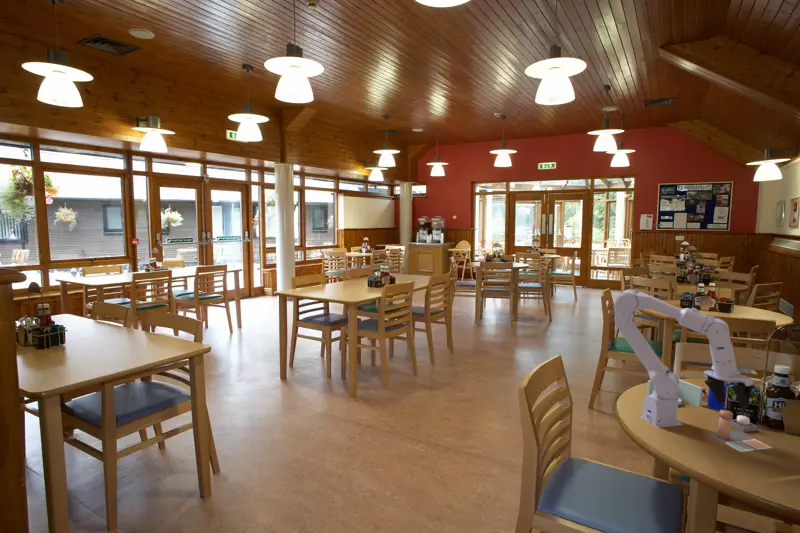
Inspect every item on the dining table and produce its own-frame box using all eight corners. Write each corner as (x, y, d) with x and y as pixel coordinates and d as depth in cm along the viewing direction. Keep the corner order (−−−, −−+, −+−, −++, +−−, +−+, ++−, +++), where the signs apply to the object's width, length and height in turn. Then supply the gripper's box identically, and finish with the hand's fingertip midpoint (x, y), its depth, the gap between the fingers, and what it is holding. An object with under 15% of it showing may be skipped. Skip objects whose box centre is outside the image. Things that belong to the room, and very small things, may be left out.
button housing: (743, 433, 143) (743, 427, 143) (727, 426, 148) (728, 420, 148) (756, 432, 145) (757, 426, 144) (741, 424, 150) (741, 418, 149)
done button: (743, 426, 144) (744, 420, 144) (733, 421, 147) (734, 415, 147) (751, 425, 145) (752, 419, 145) (742, 420, 148) (742, 414, 148)
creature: (696, 394, 176) (680, 392, 174) (700, 381, 176) (684, 378, 174) (715, 403, 169) (699, 400, 167) (719, 388, 169) (703, 386, 166)
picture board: (740, 454, 131) (740, 452, 131) (706, 435, 142) (706, 433, 142) (774, 450, 134) (774, 448, 134) (738, 432, 144) (738, 430, 144)
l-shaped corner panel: (645, 400, 169) (647, 380, 168) (668, 395, 174) (670, 376, 173) (677, 414, 158) (679, 392, 157) (700, 408, 163) (703, 388, 162)
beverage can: (724, 413, 158) (729, 370, 156) (706, 409, 161) (710, 367, 159) (725, 408, 162) (730, 366, 160) (707, 404, 165) (712, 363, 163)
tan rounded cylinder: (723, 440, 138) (726, 414, 137) (714, 435, 141) (717, 410, 140) (732, 439, 138) (735, 413, 137) (723, 434, 141) (725, 409, 140)
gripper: (757, 360, 134) (767, 407, 133) (713, 354, 148) (722, 396, 147) (737, 365, 132) (747, 413, 132) (694, 359, 146) (703, 402, 146)
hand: (733, 405), depth 139 cm, fingers open, 7 cm apart
